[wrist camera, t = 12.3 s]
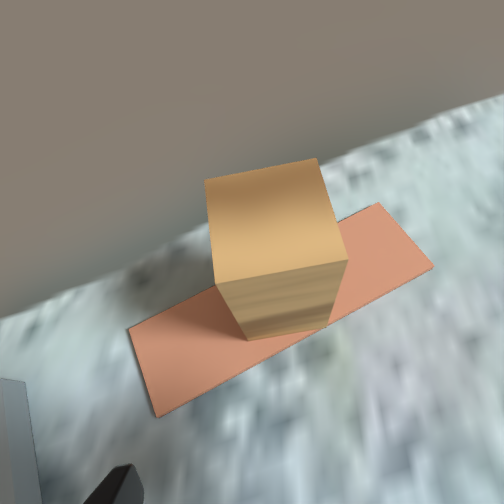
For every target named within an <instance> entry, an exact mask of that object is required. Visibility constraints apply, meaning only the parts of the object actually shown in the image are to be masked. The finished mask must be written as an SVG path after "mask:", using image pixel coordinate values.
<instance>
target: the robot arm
mask: <svg viewBox="0 0 504 504" xmlns="http://www.w3.org/2000/svg"><path fill="white" fill-rule="evenodd" d="M143 501H144V489H143V486H142V483H141V481H140V478H139V476H138V473H137V471H136V468H135V466H134V465H133V464H124V465H119V466H116V467H114V468H113V469H112V470H111V471H110V473H109V474H108V475H107V476H106V477H105V478H104V480H103V481H102V482H101V483H100V484H99V486H98V487H97V488H96V489H95V490H94V491H93V493H92V494H91V495H90V496H89V497H88V498H87V500H86V501H85V502H84V503H83V504H143Z"/></svg>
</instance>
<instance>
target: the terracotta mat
mask: <svg viewBox="0 0 504 504" xmlns="http://www.w3.org/2000/svg"><path fill="white" fill-rule="evenodd" d="M337 224H338V227H339V230H340V233H341V237H342V240H343V243H344V246H345V249H346V252H347V255H348V259H349V260H348V263H347V266H346V269H345V272H344V275H343V278H342V281H341V284H340V287H339V290H338V293H337V296H336V300H335V303H334V306H333V309H332V312H331V315H330V318H329V321H328V324H327V326H328V325H330V324H332V323H334V322H336V321H338V320H339V319H341V318H343V317H345V316H347V315H349V314H350V313H352V312H354V311H356V310H358V309H360V308H361V307H363V306H365V305H367V304H369V303H371V302H372V301H374V300H376V299H378V298H380V297H382V296H383V295H385V294H387V293H389V292H391V291H393V290H394V289H396V288H398V287H400V286H402V285H403V284H405V283H407V282H409V281H411V280H413V279H414V278H416V277H418V276H420V275H422V274H424V273H425V272H427V271H429V270H431V269H432V268H433V267H434V265H433V263H432V262H431V261H430V260H429V259H428V258H427V257H426V255H425V254H424V253H423V252H422V251H421V250H420V249H419V247H418V246H417V245H416V244H415V243H414V242H413V241H412V239H411V238H410V237H409V236H408V235H407V234H406V233H405V231H404V230H403V229H402V228H401V227H400V226H399V225H398V223H397V222H396V221H395V220H394V219H393V218H392V217H391V215H390V214H389V213H388V212H387V211H386V210H385V209H384V207H383V206H382V205H381V204H380V203H379V202H378V203H376V204H374V205H372V206H370V207H368V208H366V209H364V210H362V211H360V212H358V213H356V214H354V215H352V216H350V217H348V218H346V219H344V220H342V221H340V222H338V223H337ZM321 329H323V328H321ZM321 329H316V330H310V331H304V332H299V333H293V334H287V335H282V336H276V337H271V338H265V339H259V340H254V341H248V340H247V338H246V336H245V334H244V333H243V331H242V329H241V328H240V326H239V324H238V322H237V321H236V319H235V317H234V316H233V314H232V312H231V310H230V309H229V307H228V305H227V303H226V302H225V300H224V298H223V297H222V295H221V293H220V291H219V290H218V288H217V286H216V285H214V286H212V287H210V288H208V289H206V290H204V291H203V292H201V293H199V294H197V295H195V296H193V297H191V298H189V299H187V300H185V301H183V302H181V303H179V304H177V305H175V306H173V307H171V308H169V309H167V310H165V311H163V312H161V313H159V314H157V315H155V316H153V317H151V318H149V319H147V320H145V321H143V322H142V323H140V324H138V325H136V326H134V327H132V328H130V329H129V332H130V335H131V339H132V342H133V345H134V348H135V351H136V354H137V357H138V361H139V364H140V367H141V370H142V373H143V376H144V380H145V383H146V386H147V389H148V392H149V395H150V398H151V402H152V405H153V408H154V411H155V414H156V417H157V418H160V417H162V416H164V415H166V414H167V413H169V412H171V411H173V410H175V409H177V408H178V407H180V406H182V405H184V404H186V403H188V402H189V401H191V400H193V399H195V398H197V397H199V396H200V395H202V394H204V393H206V392H208V391H209V390H211V389H213V388H215V387H217V386H219V385H220V384H222V383H224V382H226V381H228V380H230V379H231V378H233V377H235V376H237V375H239V374H241V373H242V372H244V371H246V370H248V369H250V368H252V367H253V366H255V365H257V364H259V363H261V362H263V361H264V360H266V359H268V358H270V357H272V356H274V355H275V354H277V353H279V352H281V351H283V350H285V349H286V348H288V347H290V346H292V345H294V344H296V343H297V342H299V341H301V340H303V339H305V338H306V337H308V336H310V335H312V334H314V333H316V332H317V331H319V330H321Z"/></svg>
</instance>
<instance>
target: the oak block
mask: <svg viewBox="0 0 504 504" xmlns="http://www.w3.org/2000/svg"><path fill="white" fill-rule="evenodd" d="M204 183H205V192H206V202H207V211H208V220H209V230H210V240H211V249H212V259H213V268H214V278H215V285H216V286H217V288H218V290H219V291H220V293H221V295H222V297H223V298H224V300H225V302H226V303H227V305H228V307H229V309H230V310H231V312H232V314H233V316H234V317H235V319H236V321H237V322H238V324H239V326H240V328H241V329H242V331H243V333H244V334H245V336H246V338H247V340H248V341H254V340H259V339H265V338H271V337H276V336H282V335H287V334H293V333H299V332H304V331H310V330H316V329H321V328H326V327H327V324H328V321H329V318H330V315H331V312H332V309H333V306H334V303H335V300H336V296H337V293H338V290H339V287H340V284H341V281H342V278H343V275H344V272H345V269H346V266H347V263H348V260H349V259H348V255H347V252H346V249H345V246H344V243H343V240H342V237H341V233H340V230H339V227H338V224H337V221H336V218H335V215H334V212H333V208H332V205H331V202H330V199H329V196H328V193H327V190H326V187H325V183H324V180H323V177H322V174H321V171H320V168H319V165H318V162H317V159H316V158H313V159H308V160H303V161H299V162H293V163H288V164H283V165H278V166H272V167H267V168H262V169H257V170H252V171H247V172H242V173H237V174H232V175H226V176H221V177H216V178H211V179H206V180H204Z"/></svg>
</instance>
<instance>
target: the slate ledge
mask: <svg viewBox="0 0 504 504" xmlns="http://www.w3.org/2000/svg"><path fill="white" fill-rule="evenodd" d="M0 504H42V497H41V490H40V484H39V477H38V470H37V463H36V456H35V449H34V442H33V435H32V428H31V422H30V415H29V408H28V401H27V394H26V387H25V382H20V381H14V380H7V379H0Z"/></svg>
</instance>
